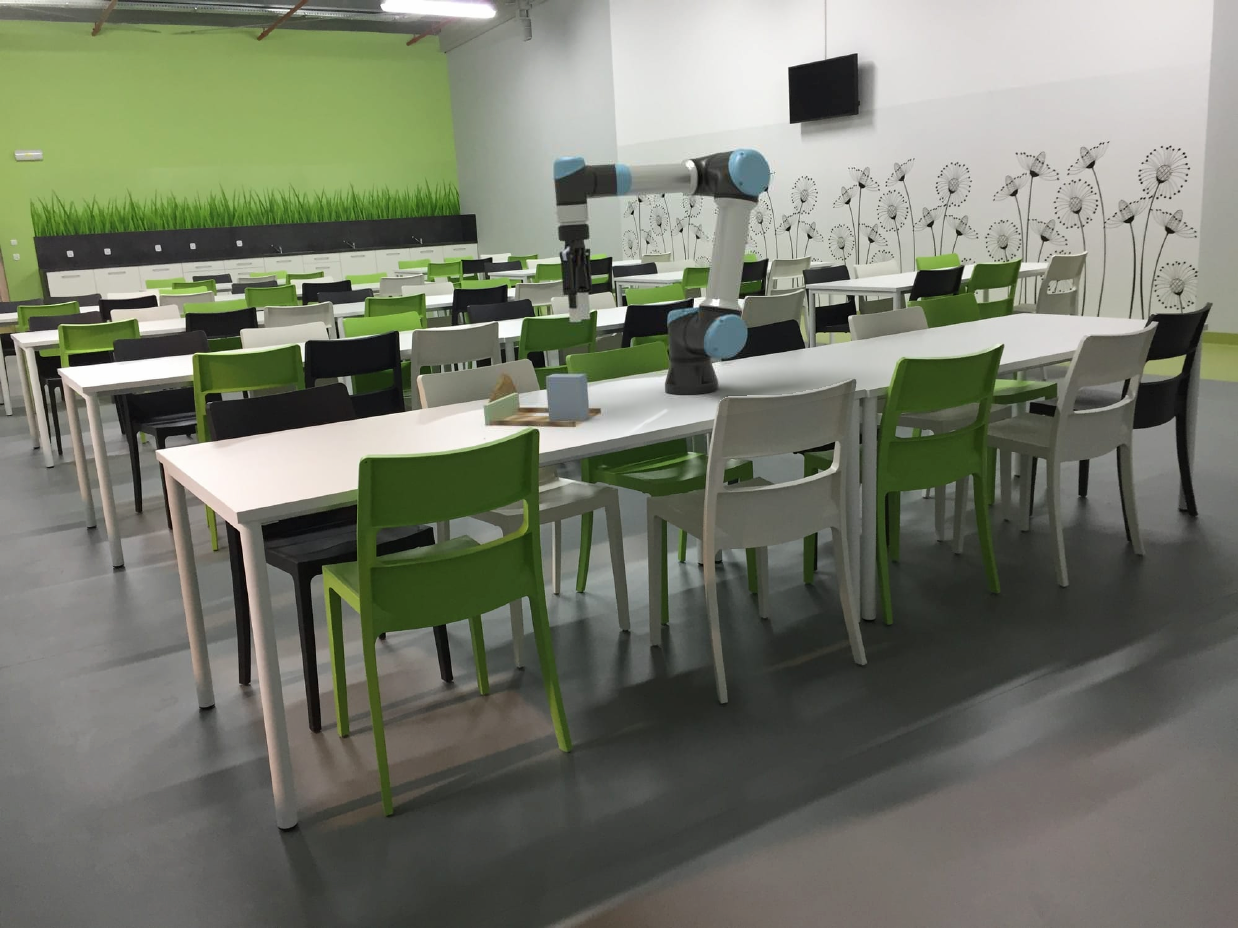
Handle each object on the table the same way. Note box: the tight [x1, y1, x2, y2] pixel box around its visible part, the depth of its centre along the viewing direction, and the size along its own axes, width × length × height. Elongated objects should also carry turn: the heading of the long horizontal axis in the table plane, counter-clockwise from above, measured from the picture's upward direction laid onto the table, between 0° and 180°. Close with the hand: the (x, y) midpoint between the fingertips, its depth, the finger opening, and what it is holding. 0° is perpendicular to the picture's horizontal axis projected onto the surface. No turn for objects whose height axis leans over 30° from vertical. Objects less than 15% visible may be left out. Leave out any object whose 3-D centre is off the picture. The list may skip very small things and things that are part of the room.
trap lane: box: [489, 406, 602, 428], centre depth 250 cm, size 23×17×2 cm
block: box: [545, 373, 590, 421], centre depth 246 cm, size 9×4×11 cm, turn 68°
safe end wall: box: [483, 392, 521, 426], centre depth 254 cm, size 1×17×6 cm, turn 158°
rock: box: [488, 372, 521, 405], centre depth 268 cm, size 11×9×10 cm
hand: (580, 320), depth 246 cm, fingers open, 5 cm apart
